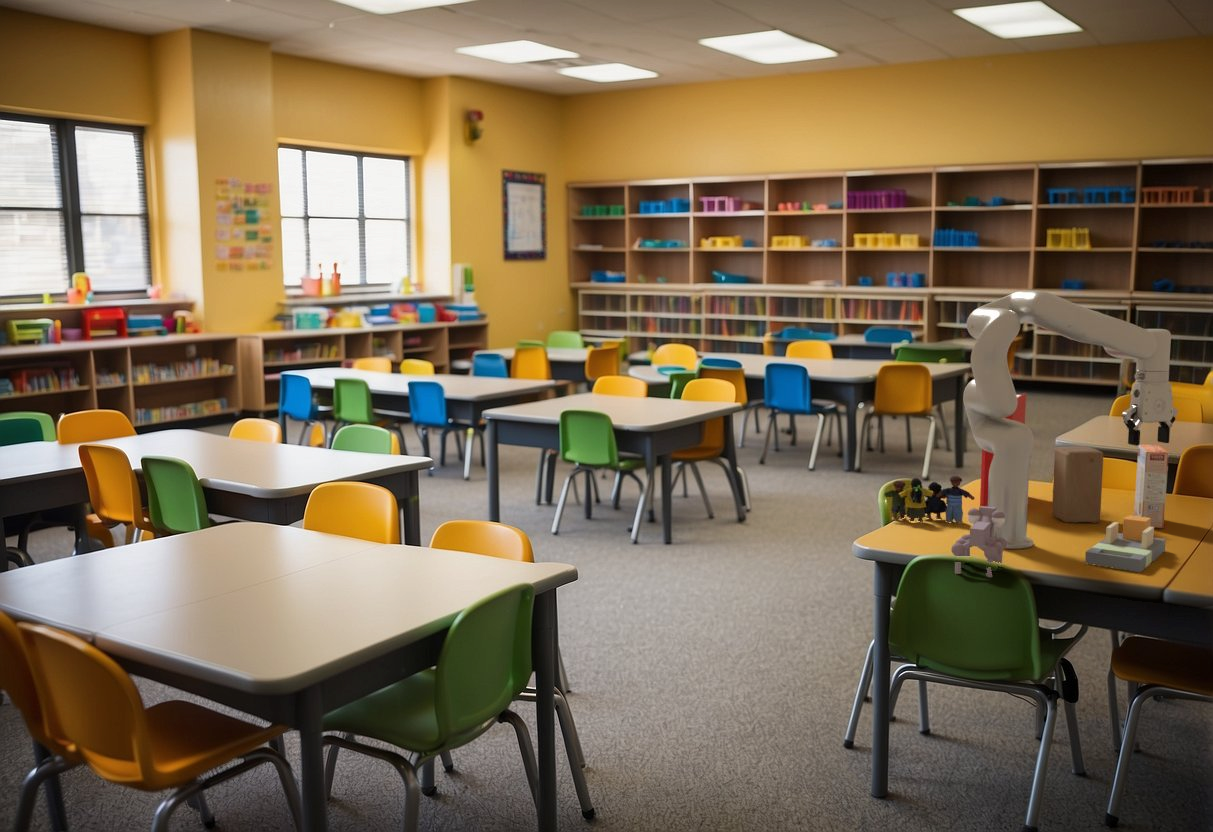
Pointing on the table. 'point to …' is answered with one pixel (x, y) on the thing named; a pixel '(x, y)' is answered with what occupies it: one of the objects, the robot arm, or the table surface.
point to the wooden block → (1077, 484)
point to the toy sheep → (982, 536)
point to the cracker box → (1151, 483)
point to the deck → (1125, 550)
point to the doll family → (928, 500)
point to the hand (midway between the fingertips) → (1148, 443)
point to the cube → (1135, 527)
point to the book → (988, 457)
